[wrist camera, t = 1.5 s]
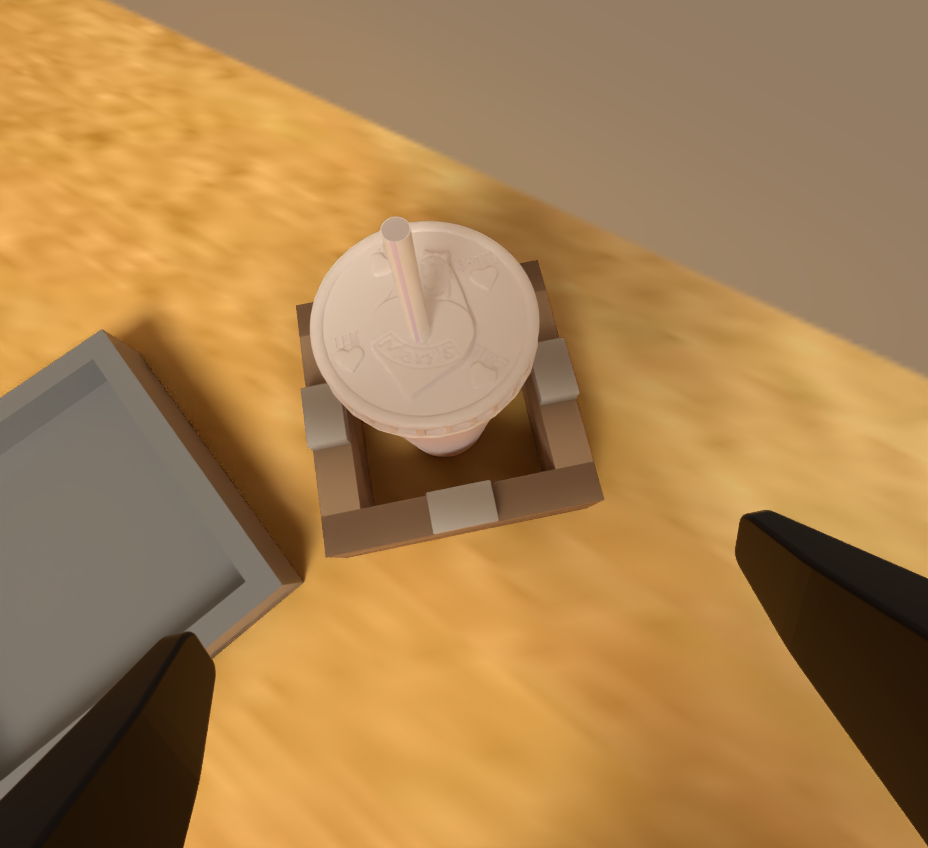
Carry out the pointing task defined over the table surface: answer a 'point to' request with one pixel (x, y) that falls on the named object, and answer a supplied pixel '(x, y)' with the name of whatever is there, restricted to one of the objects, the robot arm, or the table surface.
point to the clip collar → (462, 507)
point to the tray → (111, 542)
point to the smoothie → (426, 332)
